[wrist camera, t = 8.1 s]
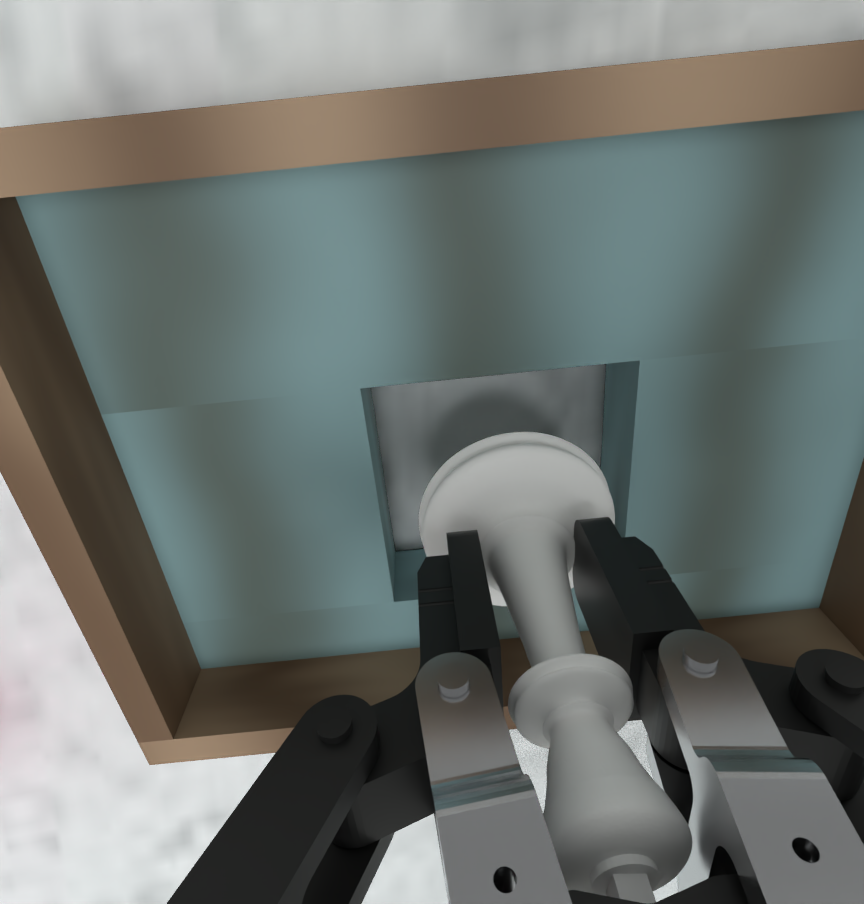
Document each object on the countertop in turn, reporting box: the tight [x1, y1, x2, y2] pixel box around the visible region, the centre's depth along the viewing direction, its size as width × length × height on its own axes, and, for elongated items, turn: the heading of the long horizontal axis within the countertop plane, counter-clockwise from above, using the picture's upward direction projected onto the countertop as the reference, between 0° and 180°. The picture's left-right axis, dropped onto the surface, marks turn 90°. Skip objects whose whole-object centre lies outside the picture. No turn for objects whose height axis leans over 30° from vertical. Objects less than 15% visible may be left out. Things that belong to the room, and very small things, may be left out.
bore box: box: [0, 40, 864, 765], centre depth 15 cm, size 22×16×5 cm
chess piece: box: [418, 432, 693, 904], centre depth 10 cm, size 5×5×10 cm
